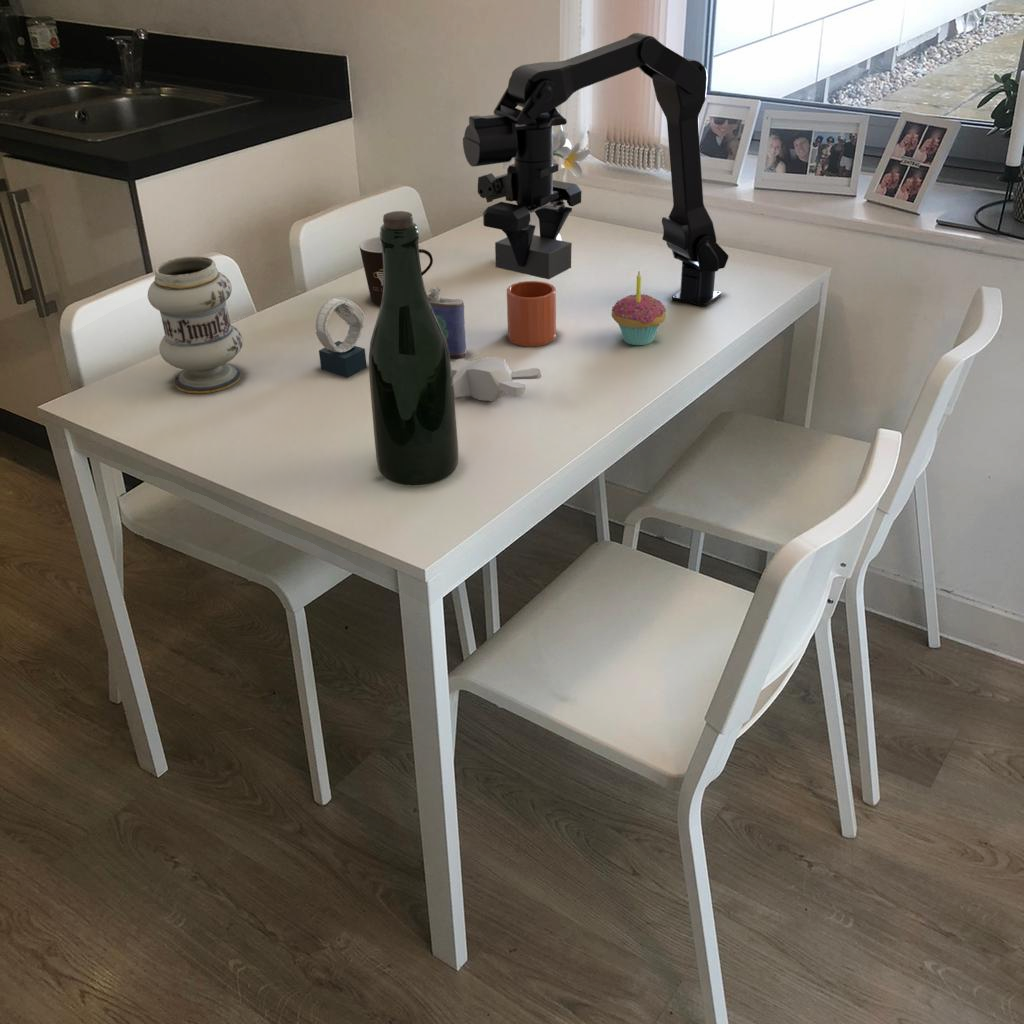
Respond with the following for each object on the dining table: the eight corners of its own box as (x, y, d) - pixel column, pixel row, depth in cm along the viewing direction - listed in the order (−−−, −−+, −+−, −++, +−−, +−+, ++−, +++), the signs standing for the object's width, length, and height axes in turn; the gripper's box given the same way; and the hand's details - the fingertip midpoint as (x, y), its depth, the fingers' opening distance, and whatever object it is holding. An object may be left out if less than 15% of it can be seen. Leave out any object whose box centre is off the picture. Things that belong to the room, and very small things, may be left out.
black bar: (518, 256, 173) (518, 231, 171) (571, 267, 168) (571, 242, 166) (495, 267, 168) (495, 242, 166) (548, 279, 164) (549, 254, 161)
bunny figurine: (453, 348, 160) (544, 353, 154) (459, 379, 163) (548, 386, 156) (422, 373, 153) (516, 379, 146) (428, 405, 156) (520, 413, 149)
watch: (375, 362, 166) (368, 295, 160) (339, 381, 161) (330, 312, 155) (348, 354, 169) (341, 288, 163) (312, 373, 164) (303, 304, 158)
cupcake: (661, 351, 167) (666, 277, 161) (607, 348, 169) (609, 275, 162) (666, 330, 174) (670, 258, 168) (614, 327, 176) (616, 256, 169)
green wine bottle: (396, 444, 144) (372, 197, 126) (470, 453, 141) (456, 203, 123) (364, 483, 135) (335, 224, 118) (443, 493, 133) (424, 231, 115)
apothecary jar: (161, 371, 165) (136, 258, 156) (239, 357, 169) (220, 245, 159) (173, 403, 156) (147, 284, 146) (255, 387, 160) (236, 270, 150)
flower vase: (566, 277, 196) (567, 136, 182) (482, 261, 204) (477, 125, 191) (600, 256, 205) (603, 120, 192) (518, 241, 213) (516, 110, 200)
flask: (469, 353, 168) (465, 288, 163) (461, 360, 166) (457, 294, 160) (416, 346, 171) (410, 281, 166) (407, 353, 169) (402, 288, 163)
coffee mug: (355, 305, 187) (350, 249, 181) (379, 288, 193) (374, 234, 188) (415, 313, 183) (411, 256, 177) (437, 296, 190) (434, 240, 184)
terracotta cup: (525, 324, 178) (524, 277, 174) (564, 333, 174) (564, 286, 170) (498, 340, 172) (497, 292, 168) (538, 350, 169) (538, 302, 164)
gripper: (524, 138, 170) (524, 235, 178) (452, 164, 157) (456, 267, 165) (584, 147, 164) (581, 247, 172) (514, 174, 151) (515, 281, 160)
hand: (533, 260), depth 168 cm, fingers closed on black bar, 6 cm apart
